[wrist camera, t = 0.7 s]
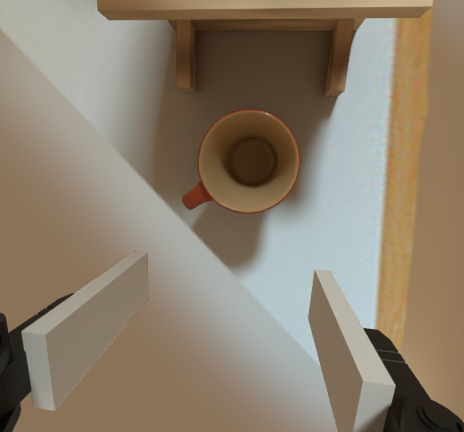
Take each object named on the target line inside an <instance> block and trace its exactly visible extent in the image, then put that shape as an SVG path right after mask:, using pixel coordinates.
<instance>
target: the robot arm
mask: <svg viewBox="0 0 464 432" xmlns="http://www.w3.org/2000/svg"><path fill="white" fill-rule="evenodd" d="M147 300H148V260H147V253H143V252H133V253H131V254H130V255H128V256H127V257H126V258H124V259H123V260H121V261H120V262H119V263H117V264H116V265H114V266H113V267H111V268H110V269H109V270H107V271H106V272H105V273H103V274H102V275H101V276H99V277H97V278H96V279H95V280H93V281H92V282H90V283H89V284H87V285H86V286H85V287H83V288H82V289H80V290H79V291H78V292H76V293H75V294H74V293H72V294H69V295H67V296H64V297H62V298H60V299H58V300H56V301H55V302H53V303H52V304H51V305H49V306H48V307H47V308H45V309H43V310H42V311H40V312H39V313H38V314H37V315H34V316H33V317H32V318H30V319H28V320H27V321H26V322H24V323H23V324H21V325H20V326H18V327H17V328H16V329H14V330H12V331H11V332H10V333H8V328H7V322H6V317H5V315H4V314H2V313H0V432H12V431H13V429H14V427H15V424H16V423H17V420H18V418H19V416H20V411H21V406H20V402H21V401H22V400H23V399H24V398H25V397H26V396H27V395H28V394H29V393H30V392H31V397H32V404H33V407H36V408H42V409H47V410H53V411H55V410H56V409H57V408H58V407H59V405H60V404H61V403H62V402H63V401H64V400H65V398H66V397H67V396H68V395H69V394H70V392H71V391H72V390H73V389H74V387H75V386H76V385H77V384H78V383H79V382H80V380H81V379H82V378H83V377H84V376H85V374H86V373H87V372H88V371H89V370H90V368H91V367H92V366H93V365H94V364H95V362H96V361H97V360H98V359H99V358H100V356H101V355H102V354H103V353H104V352H105V350H106V349H107V348H108V347H109V346H110V344H111V343H112V342H113V341H114V339H115V338H116V337H117V336H118V335H119V334H120V332H121V331H122V330H123V329H124V328H125V326H126V325H127V324H128V323H129V321H130V320H131V319H132V318H133V317H134V316H135V314H136V313H137V312H138V311H139V310H140V308H141V307H142V306H143V305H144V304H145V302H146V301H147ZM308 319H309V323H310V327H311V331H312V335H313V338H314V342H315V346H316V350H317V354H318V357H319V361H320V365H321V369H322V373H323V376H324V380H325V384H326V388H327V392H328V396H329V399H330V403H331V407H332V411H333V414H334V418H335V422H336V426H337V429H338V432H464V423H463V422H462V420H461V419H460V418H459V417H458V416H456V415H455V414H454V413H453V412H451V411H450V410H449V409H447V408H446V407H444V406H442V405H441V404H439V403H437V402H435V401H433V400H431V399H430V397H429V396H428V394H427V393H426V392H425V390H424V388H423V387H422V386H421V384H420V383H419V381H418V380H417V378H416V377H415V375H414V374H413V372H412V371H411V369H410V368H409V367H408V365H407V364H405V361H404V359H403V358H402V356H401V355H400V354H398V350H397V349H396V347H395V346H394V345H393V343H392V342H391V340H390V339H389V338H387V337H386V336H385V335H384V334H382V333H381V332H380V331H379V330H375V329H367V328H363V327H362V326H361V324H360V322H359V320H358V319H357V317H356V315H355V313H354V312H353V310H352V308H351V306H350V305H349V303H348V301H347V299H346V298H345V296H344V294H343V292H342V290H341V289H340V287H339V285H338V283H337V282H336V280H335V278H334V276H333V275H332V273H331V271H323V270H315V271H314V279H313V286H312V294H311V301H310V308H309V316H308Z"/></svg>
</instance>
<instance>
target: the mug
mask: <svg viewBox="0 0 464 432" xmlns="http://www.w3.org/2000/svg"><path fill="white" fill-rule="evenodd" d="M299 169H300V153H299V148H298V144H297V141H296V139H295V137H294V135H293V133H292V132H291V130H290V129H289V128H288V127H287V125H286V124H285V123H284V122H282V121H281V120H280V119H279V118H277V117H276V116H274V115H272V114H270V113H267V112H265V111H261V110H255V109H244V110H239V111H235V112H232V113H229V114H227V115H225V116H224V117H222V118H220V119H219V120H218V121H217V122H216V123H214V124H213V125H212V127H211V128H210V129H209V130H208V132H207V133H206V135H205V137H204V138H203V141H202V143H201V146H200V150H199V155H198V173H199V177H200V179H201V181H200V182H199V183H198V184H197V186H196V187H195V188H193V189H192V190H191V191H189V192H188V193H186V194H185V195H184V196H183V197H182V202H183V203H184V205H185V206H186V208H187V209H189V210H192V209H194V208H196V207H197V206H199V205H201V204H202V203H205V202H208V201H212V200H214V201H215V202H216V203H217V204H219V205H220V206H222V207H224V208H226V209H229V210H231V211H234V212H238V213H246V214H251V213H259V212H263V211H266V210H268V209H270V208H272V207H274V206H276V205H277V204H279V203H280V202H281V201H282V200H283V199H285V198H286V196H287V195H288V194H289V193H290V191H291V190H292V188H293V187H294V185H295V183H296V180H297V177H298V174H299Z"/></svg>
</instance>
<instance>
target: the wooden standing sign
mask: <svg viewBox="0 0 464 432" xmlns="http://www.w3.org/2000/svg"><path fill="white" fill-rule="evenodd" d="M432 4H433V0H97V5H98V11H99V12H100V13H101V14H102V15H103V16H105V17H106V18H107V19H108V20H168V21H169V23H170V24H171V25H172V27H173V28H174V30H175V31H177V80H176V87H178V88H179V89H180V90H181V91H183V92H194V93H196V40H197V31H332V38H331V46H330V54H329V62H328V70H327V78H326V86H325V94H324V96H339V95H340V94H341V93H342V92H343V91H345V84H346V77H347V70H348V62H349V55H350V48H351V41H352V34H353V31H357V29H358V28H359V27H360V25H361V24H362V22H363V21H364V20H365V18H420V17H421V16H422V15H423V14H424V13H425V12H426V11H427V10H429V9H430V8H431V7H432Z"/></svg>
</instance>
